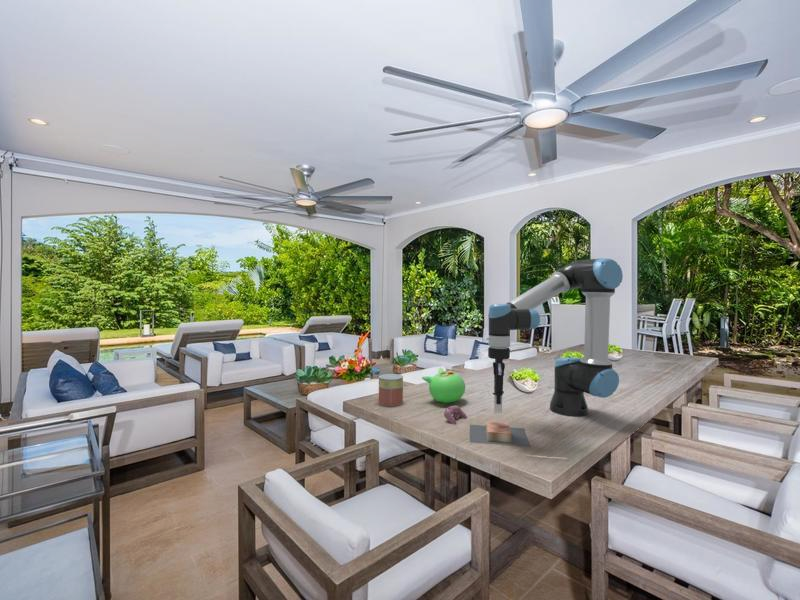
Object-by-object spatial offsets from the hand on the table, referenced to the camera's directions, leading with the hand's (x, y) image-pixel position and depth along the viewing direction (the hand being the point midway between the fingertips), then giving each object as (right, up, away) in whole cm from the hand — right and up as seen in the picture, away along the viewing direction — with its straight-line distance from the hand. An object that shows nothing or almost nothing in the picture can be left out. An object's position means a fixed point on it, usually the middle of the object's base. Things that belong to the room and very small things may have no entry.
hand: (498, 411), depth 140 cm
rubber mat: (0, -9, -1) cm, 9 cm away
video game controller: (-13, -8, +14) cm, 21 cm away
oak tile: (0, -6, +3) cm, 7 cm away
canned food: (-40, -7, +39) cm, 56 cm away
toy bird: (-14, -7, +40) cm, 43 cm away
